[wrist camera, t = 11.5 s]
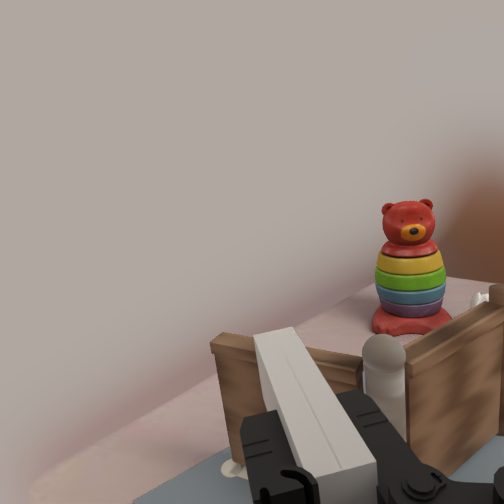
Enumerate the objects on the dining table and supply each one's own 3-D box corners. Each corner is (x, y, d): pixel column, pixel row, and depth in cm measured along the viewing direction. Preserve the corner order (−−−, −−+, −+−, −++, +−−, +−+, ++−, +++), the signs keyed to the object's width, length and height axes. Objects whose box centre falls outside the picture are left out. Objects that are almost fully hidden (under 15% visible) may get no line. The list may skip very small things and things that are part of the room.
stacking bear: (372, 337, 53) (365, 211, 49) (371, 306, 63) (366, 198, 58) (458, 339, 50) (460, 204, 45) (444, 306, 59) (445, 192, 55)
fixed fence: (487, 418, 36) (493, 267, 32) (518, 433, 34) (528, 273, 30) (364, 521, 28) (352, 336, 24) (393, 550, 26) (385, 352, 22)
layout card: (377, 365, 47) (377, 363, 47) (552, 454, 32) (552, 450, 31) (133, 503, 32) (132, 500, 32) (241, 789, 17) (240, 784, 17)
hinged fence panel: (371, 497, 29) (363, 357, 26) (364, 517, 28) (354, 371, 24) (241, 449, 35) (222, 331, 32) (230, 463, 34) (209, 342, 31)
